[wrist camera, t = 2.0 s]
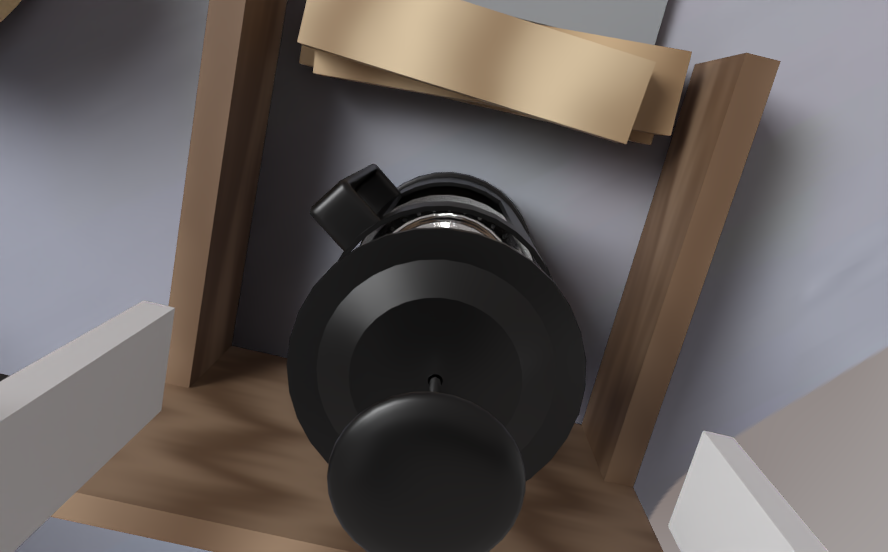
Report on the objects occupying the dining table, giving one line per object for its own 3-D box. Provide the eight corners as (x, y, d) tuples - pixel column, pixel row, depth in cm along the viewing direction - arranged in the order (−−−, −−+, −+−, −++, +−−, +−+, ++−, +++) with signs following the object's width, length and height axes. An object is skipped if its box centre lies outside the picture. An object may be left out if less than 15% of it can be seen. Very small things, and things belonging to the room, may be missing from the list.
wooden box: (203, 358, 37) (38, 514, 23) (263, -43, 32) (99, -178, 17) (600, 448, 38) (688, 653, 23) (723, 71, 33) (936, 33, 18)
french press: (573, 274, 35) (768, 541, 13) (445, 376, 37) (426, 768, 15) (434, 110, 33) (384, 92, 11) (306, 225, 35) (39, 413, 13)
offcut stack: (307, 73, 33) (275, 63, 28) (322, -22, 32) (292, -53, 26) (641, 150, 34) (679, 157, 28) (668, 60, 33) (713, 47, 27)
